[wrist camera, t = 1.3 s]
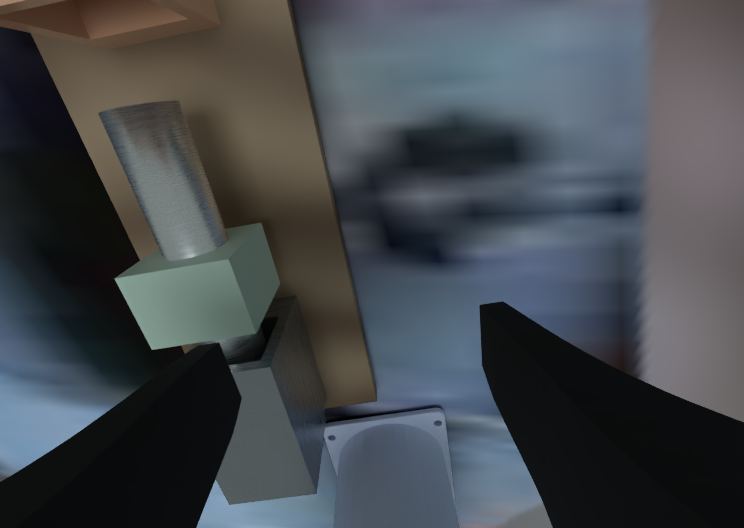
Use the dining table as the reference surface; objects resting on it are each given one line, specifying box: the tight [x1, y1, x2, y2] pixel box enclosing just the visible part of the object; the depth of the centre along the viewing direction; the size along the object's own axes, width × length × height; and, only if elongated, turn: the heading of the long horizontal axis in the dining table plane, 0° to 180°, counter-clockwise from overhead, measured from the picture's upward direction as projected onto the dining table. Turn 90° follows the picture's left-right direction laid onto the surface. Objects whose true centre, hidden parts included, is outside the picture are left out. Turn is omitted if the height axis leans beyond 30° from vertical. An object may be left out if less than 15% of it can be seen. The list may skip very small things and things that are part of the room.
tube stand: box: [0, 0, 377, 505], centre depth 15 cm, size 24×10×7 cm, turn 10°
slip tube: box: [98, 101, 280, 365], centre depth 15 cm, size 16×4×4 cm, turn 10°
